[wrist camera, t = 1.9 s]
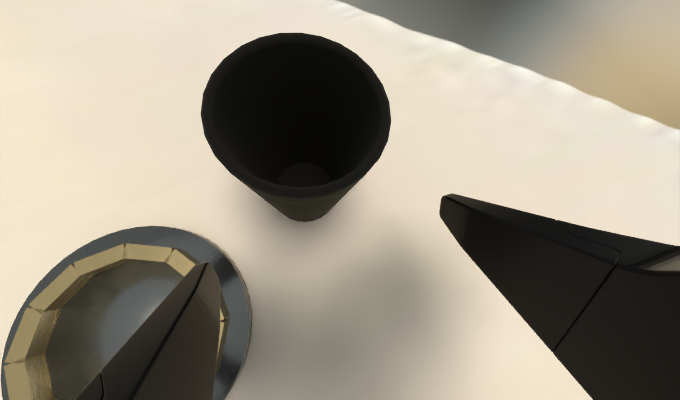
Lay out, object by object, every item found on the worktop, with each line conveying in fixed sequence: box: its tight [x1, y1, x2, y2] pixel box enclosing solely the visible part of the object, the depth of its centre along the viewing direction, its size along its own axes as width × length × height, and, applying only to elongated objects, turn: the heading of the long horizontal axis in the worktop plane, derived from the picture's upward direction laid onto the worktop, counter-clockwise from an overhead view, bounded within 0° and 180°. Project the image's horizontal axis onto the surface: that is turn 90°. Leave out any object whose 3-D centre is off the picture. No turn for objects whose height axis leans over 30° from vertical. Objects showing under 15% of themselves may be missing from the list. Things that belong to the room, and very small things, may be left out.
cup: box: [201, 33, 391, 222], centre depth 16 cm, size 8×8×12 cm
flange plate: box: [1, 226, 251, 400], centre depth 16 cm, size 15×15×2 cm
